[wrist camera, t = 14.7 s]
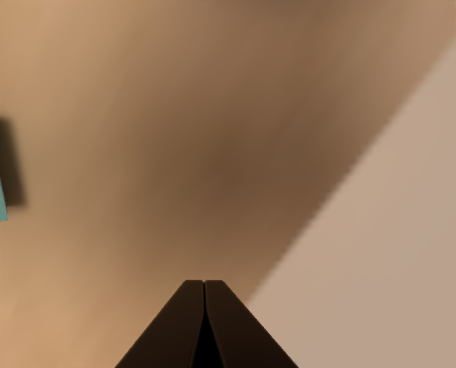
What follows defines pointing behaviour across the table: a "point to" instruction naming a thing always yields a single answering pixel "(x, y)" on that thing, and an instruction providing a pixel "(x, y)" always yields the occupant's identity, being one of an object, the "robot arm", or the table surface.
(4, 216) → the domino
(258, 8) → the table surface
